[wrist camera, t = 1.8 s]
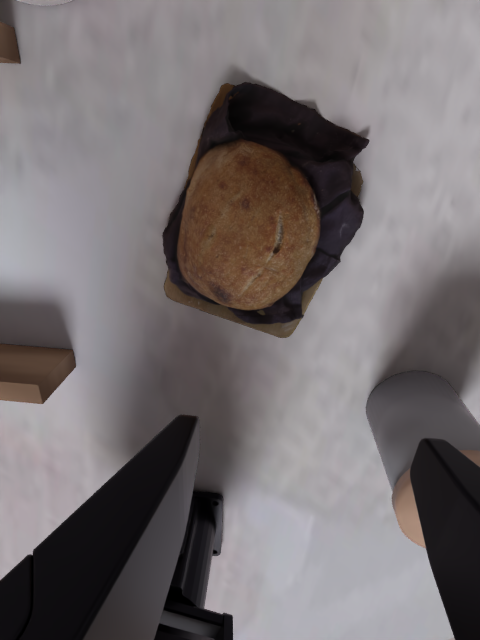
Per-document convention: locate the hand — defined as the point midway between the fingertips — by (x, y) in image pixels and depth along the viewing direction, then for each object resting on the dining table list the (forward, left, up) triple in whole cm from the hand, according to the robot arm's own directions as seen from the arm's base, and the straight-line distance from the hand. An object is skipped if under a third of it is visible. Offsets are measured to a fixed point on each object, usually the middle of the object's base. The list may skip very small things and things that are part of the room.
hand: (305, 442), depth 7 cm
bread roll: (+2, +2, -13) cm, 13 cm away
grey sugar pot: (-8, -8, -12) cm, 16 cm away
